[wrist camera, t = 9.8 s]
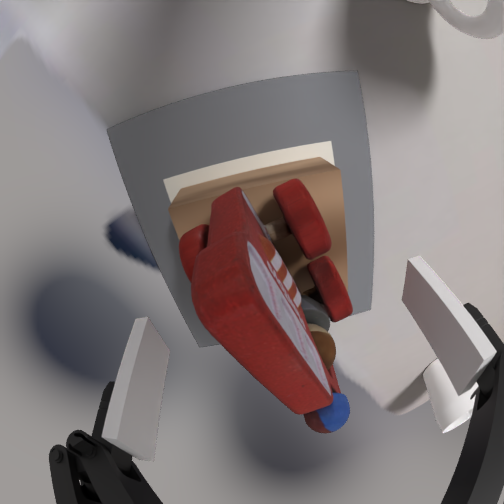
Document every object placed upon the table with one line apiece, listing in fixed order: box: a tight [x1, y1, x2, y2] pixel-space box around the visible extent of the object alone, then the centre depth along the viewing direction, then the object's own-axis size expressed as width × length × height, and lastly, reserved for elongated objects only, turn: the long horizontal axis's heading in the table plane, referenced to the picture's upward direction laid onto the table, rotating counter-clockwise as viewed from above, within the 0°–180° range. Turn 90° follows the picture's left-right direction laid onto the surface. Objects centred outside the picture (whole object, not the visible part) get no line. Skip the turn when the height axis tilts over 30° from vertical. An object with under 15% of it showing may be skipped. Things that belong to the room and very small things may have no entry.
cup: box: [423, 358, 478, 433], centre depth 30 cm, size 9×9×12 cm
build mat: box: [107, 71, 374, 347], centre depth 21 cm, size 22×18×1 cm
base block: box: [168, 157, 348, 293], centre depth 19 cm, size 10×10×4 cm
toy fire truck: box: [179, 178, 353, 433], centre depth 13 cm, size 7×12×10 cm, turn 26°
